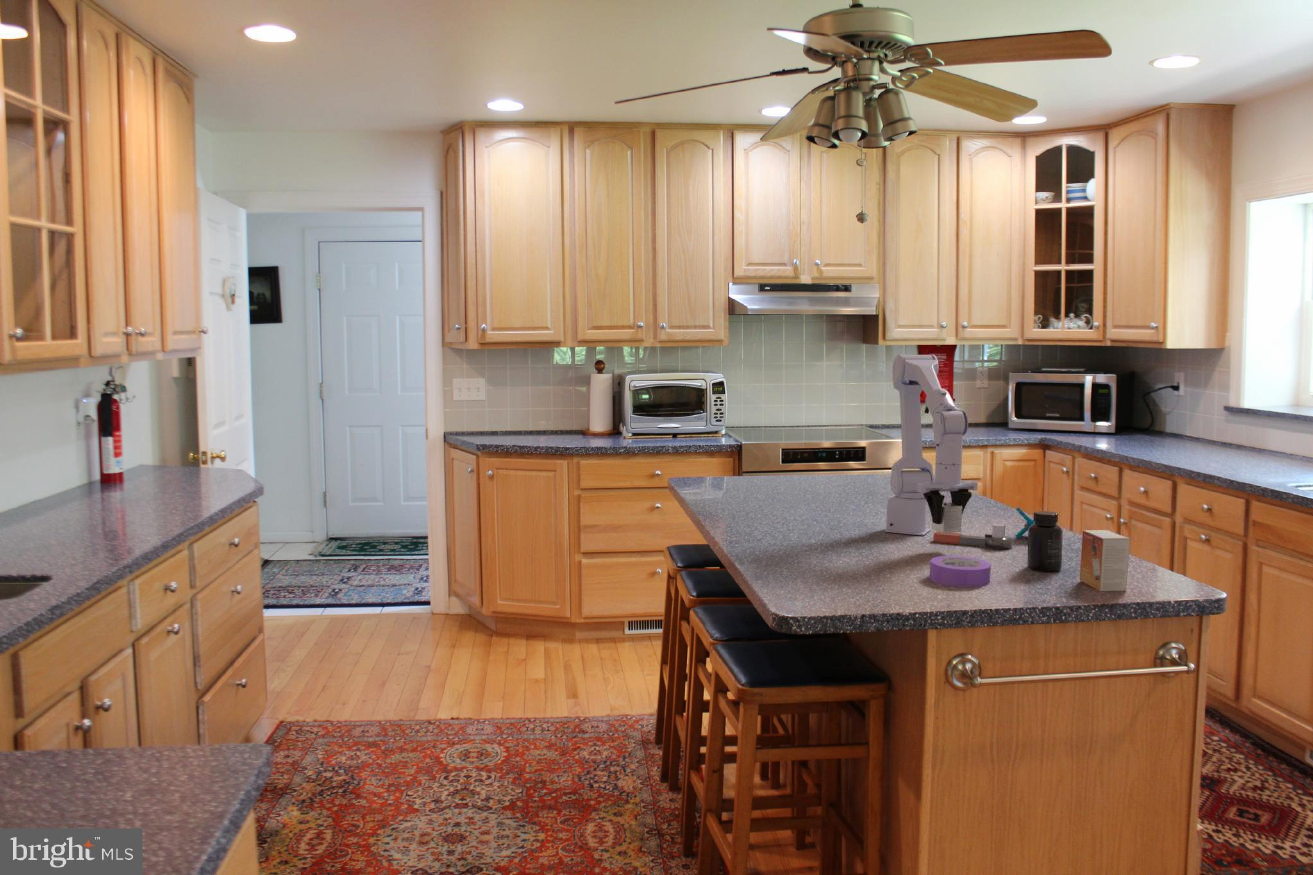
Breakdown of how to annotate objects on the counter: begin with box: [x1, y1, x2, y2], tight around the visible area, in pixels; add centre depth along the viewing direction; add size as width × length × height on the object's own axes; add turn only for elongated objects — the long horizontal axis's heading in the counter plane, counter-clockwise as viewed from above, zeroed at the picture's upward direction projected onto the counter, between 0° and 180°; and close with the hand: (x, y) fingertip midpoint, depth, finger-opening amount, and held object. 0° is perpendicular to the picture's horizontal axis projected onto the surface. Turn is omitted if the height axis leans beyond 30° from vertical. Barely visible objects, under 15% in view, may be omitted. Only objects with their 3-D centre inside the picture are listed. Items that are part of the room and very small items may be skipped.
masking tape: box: [929, 555, 992, 588], centre depth 203 cm, size 12×12×4 cm
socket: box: [931, 501, 963, 533], centre depth 229 cm, size 5×5×6 cm
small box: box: [1079, 529, 1131, 592], centre depth 198 cm, size 8×6×10 cm
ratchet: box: [932, 523, 1013, 551], centre depth 236 cm, size 18×6×5 cm, turn 63°
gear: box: [1015, 507, 1035, 539], centre depth 244 cm, size 11×6×10 cm
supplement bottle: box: [1026, 510, 1064, 573], centre depth 212 cm, size 7×7×12 cm
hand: (946, 522), depth 229 cm, fingers closed on socket, 5 cm apart
